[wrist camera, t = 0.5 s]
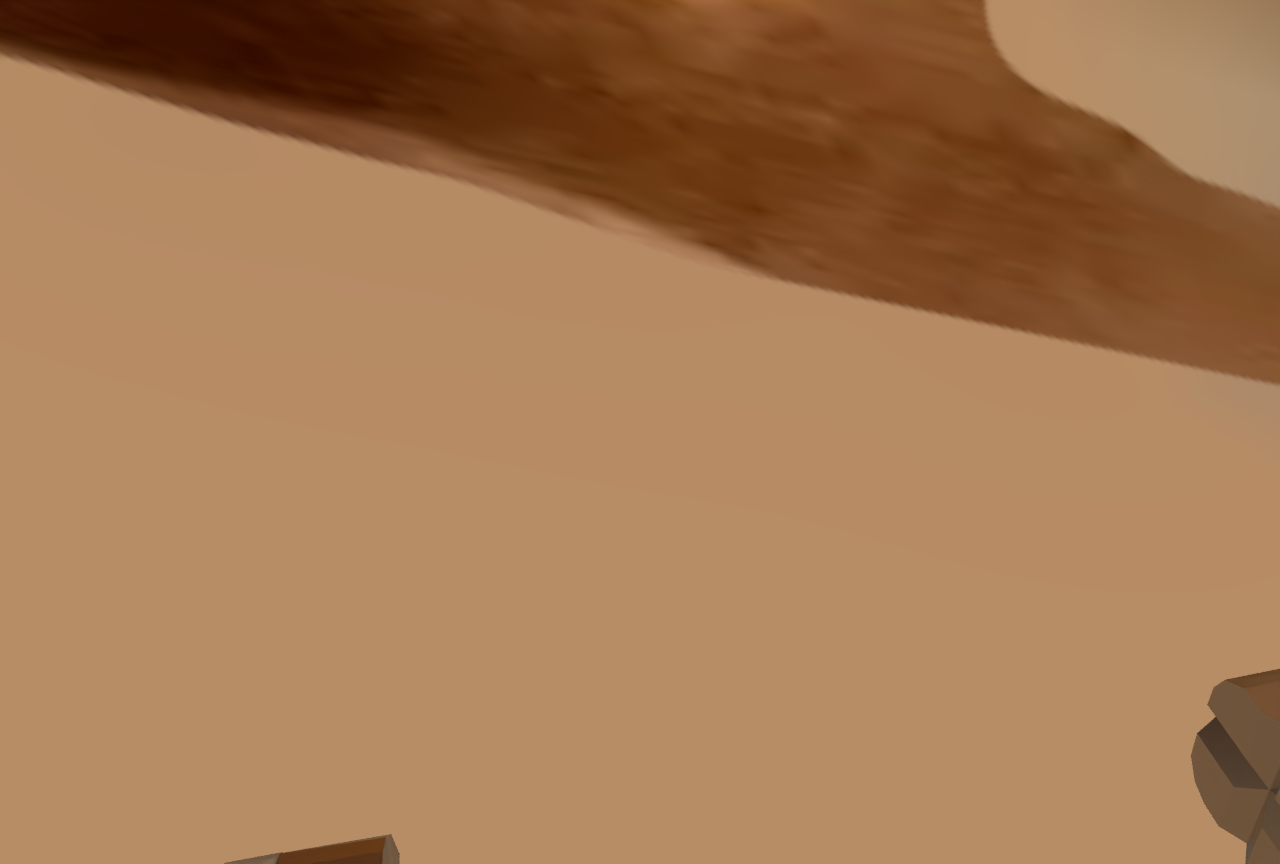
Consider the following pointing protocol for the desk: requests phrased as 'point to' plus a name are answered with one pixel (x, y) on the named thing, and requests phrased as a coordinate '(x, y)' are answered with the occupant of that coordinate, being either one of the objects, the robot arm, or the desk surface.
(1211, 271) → the desk surface
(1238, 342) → the desk surface
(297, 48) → the desk surface
